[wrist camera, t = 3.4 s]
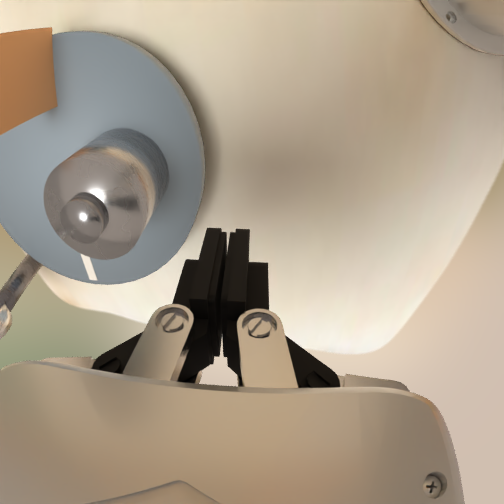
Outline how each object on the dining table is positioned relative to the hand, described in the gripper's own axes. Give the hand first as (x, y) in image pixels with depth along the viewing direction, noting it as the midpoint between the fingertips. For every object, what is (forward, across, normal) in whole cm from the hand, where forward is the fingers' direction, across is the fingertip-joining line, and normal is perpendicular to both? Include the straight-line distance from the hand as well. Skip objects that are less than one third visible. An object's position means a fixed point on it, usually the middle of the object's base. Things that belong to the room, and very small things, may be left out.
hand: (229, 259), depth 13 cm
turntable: (+9, +12, -1) cm, 15 cm away
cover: (+8, +7, -1) cm, 10 cm away
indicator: (+11, +21, +9) cm, 26 cm away
